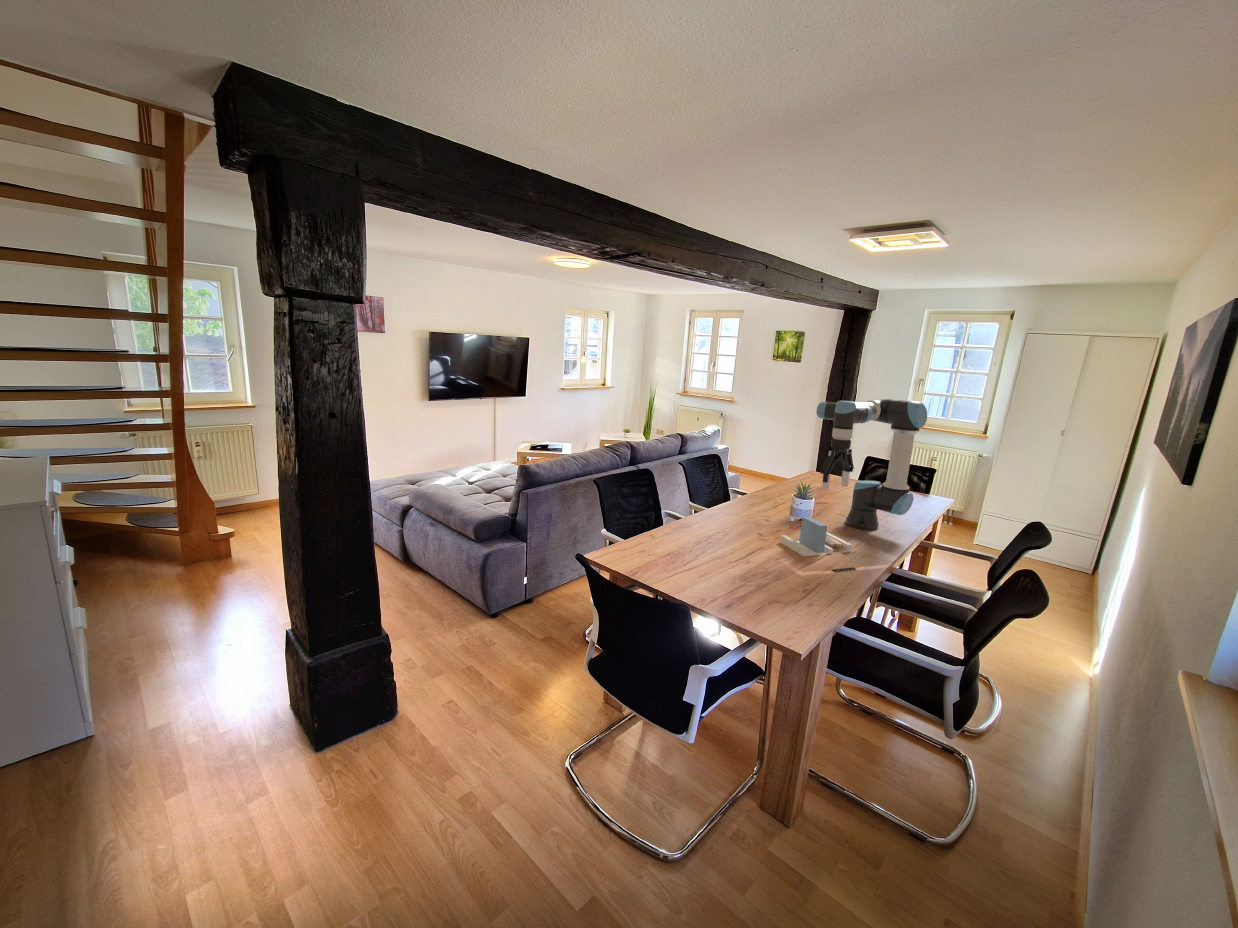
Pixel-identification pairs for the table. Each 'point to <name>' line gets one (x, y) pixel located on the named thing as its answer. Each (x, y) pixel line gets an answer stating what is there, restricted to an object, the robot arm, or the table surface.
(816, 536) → the blue-grey square block
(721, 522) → the table surface
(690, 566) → the table surface
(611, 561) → the table surface
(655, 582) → the table surface
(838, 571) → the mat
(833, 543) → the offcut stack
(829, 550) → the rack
